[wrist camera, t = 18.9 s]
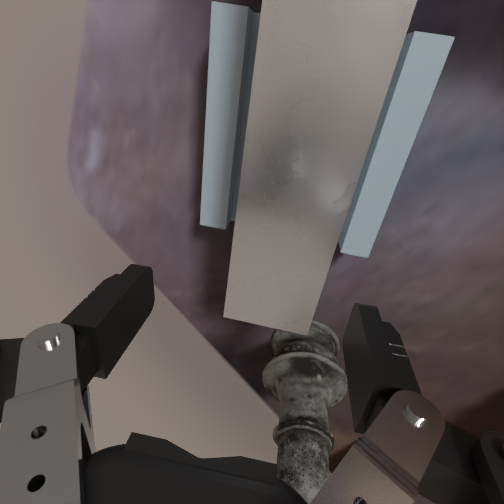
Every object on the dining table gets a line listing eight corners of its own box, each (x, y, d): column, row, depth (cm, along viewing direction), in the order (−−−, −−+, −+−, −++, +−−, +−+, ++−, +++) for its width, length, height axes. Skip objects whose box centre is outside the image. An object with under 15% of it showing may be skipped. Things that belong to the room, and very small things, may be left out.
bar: (307, 284, 20) (307, 335, 16) (239, 270, 20) (223, 316, 16) (429, -129, 11) (498, -247, 7) (299, -144, 11) (294, -265, 7)
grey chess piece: (292, 377, 26) (281, 571, 16) (253, 332, 24) (212, 519, 14) (357, 356, 24) (392, 569, 14) (319, 304, 22) (327, 505, 12)
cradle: (361, 237, 19) (367, 258, 17) (211, 208, 20) (199, 224, 17) (432, 43, 14) (455, 36, 12) (226, 12, 14) (211, 1, 12)
